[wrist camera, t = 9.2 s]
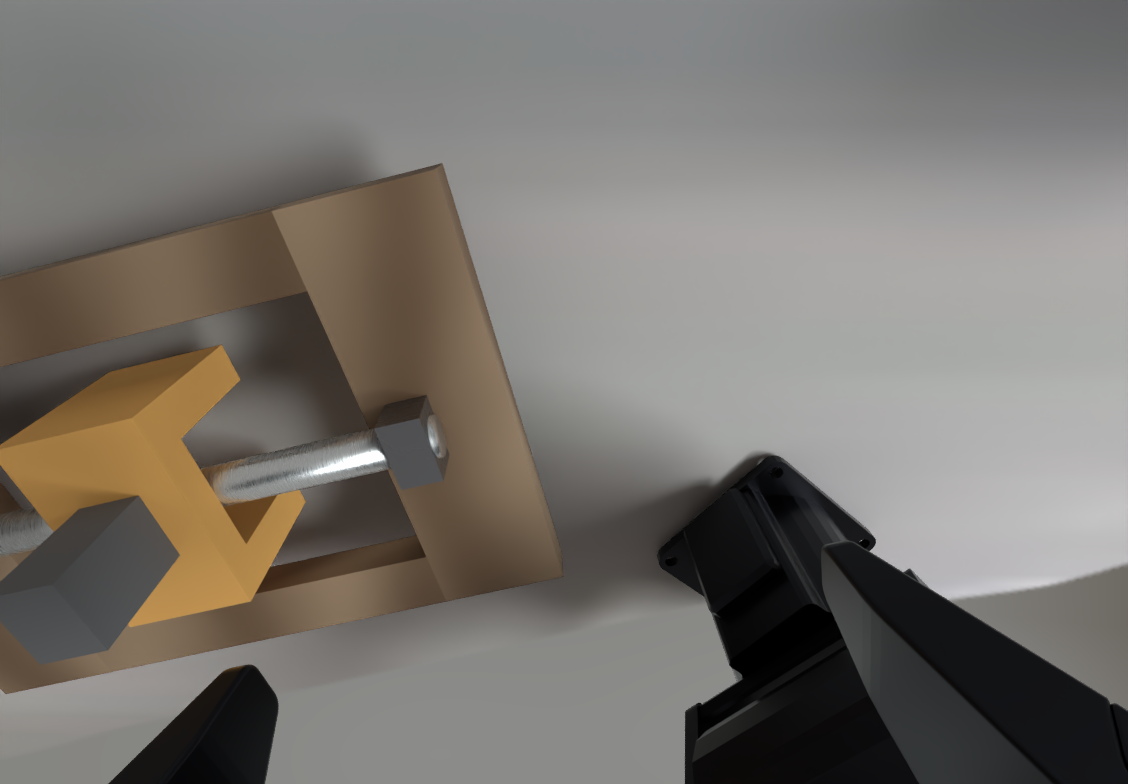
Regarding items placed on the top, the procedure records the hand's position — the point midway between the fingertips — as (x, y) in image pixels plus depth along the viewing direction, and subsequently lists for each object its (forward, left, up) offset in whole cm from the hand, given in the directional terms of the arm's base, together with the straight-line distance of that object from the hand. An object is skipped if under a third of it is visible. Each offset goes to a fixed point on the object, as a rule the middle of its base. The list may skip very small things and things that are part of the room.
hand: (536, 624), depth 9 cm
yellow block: (+6, +9, -10) cm, 15 cm away
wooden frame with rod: (+6, +9, -12) cm, 16 cm away
